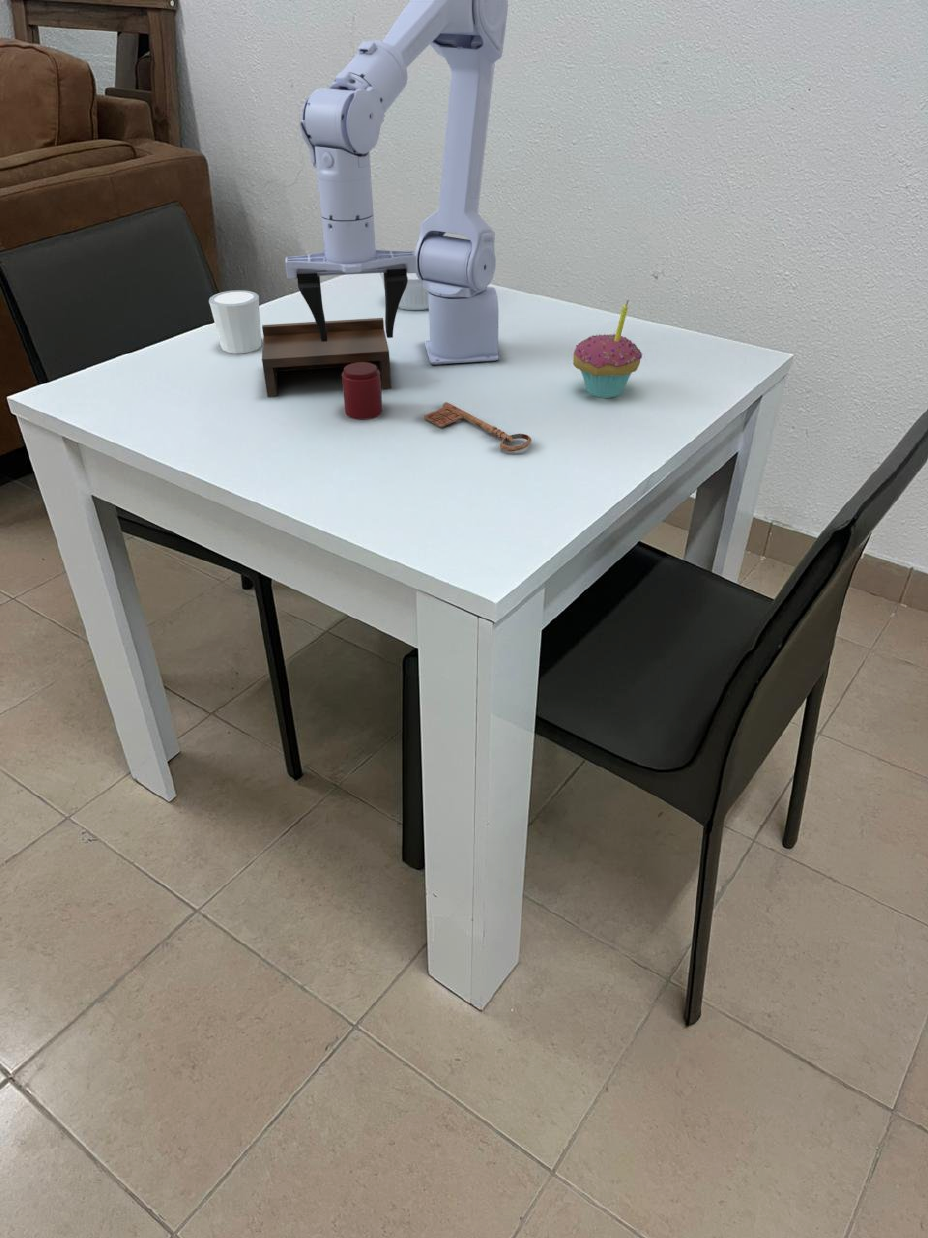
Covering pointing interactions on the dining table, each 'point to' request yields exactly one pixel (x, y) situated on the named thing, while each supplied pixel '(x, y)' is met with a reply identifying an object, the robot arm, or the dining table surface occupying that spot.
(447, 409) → the key
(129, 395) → the dining table surface
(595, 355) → the cupcake
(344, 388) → the red lidded jar
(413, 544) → the dining table surface
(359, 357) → the shelf
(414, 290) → the ramekin
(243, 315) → the white cup
